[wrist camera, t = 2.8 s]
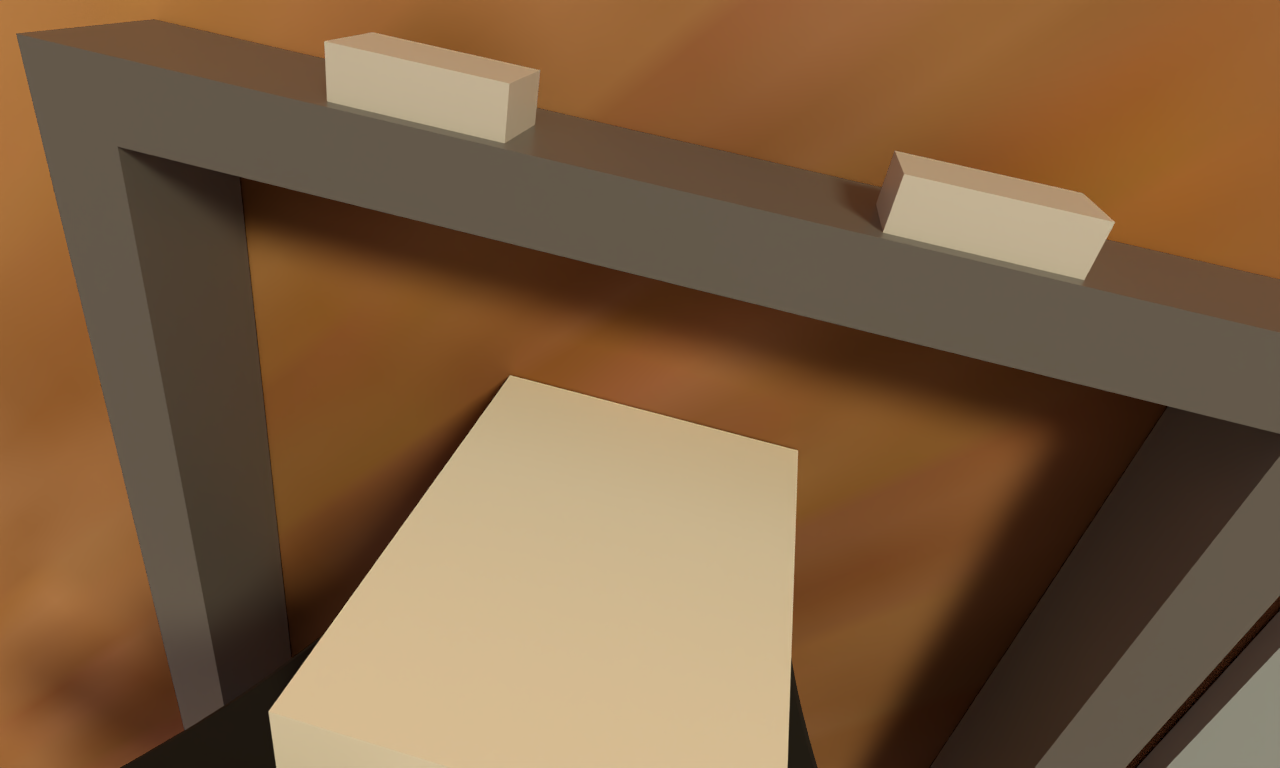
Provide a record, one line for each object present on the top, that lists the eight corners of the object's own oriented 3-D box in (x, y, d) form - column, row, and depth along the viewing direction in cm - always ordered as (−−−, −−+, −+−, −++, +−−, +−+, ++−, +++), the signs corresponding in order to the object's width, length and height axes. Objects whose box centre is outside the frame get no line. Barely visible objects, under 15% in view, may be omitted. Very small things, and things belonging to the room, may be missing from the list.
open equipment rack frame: (1381, 245, 8) (1526, 321, 7) (891, 908, 16) (899, 1018, 15) (145, -33, 10) (0, -29, 8) (258, 713, 18) (199, 794, 16)
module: (797, 450, 11) (783, 896, 6) (697, 730, 15) (633, 1161, 10) (510, 375, 12) (253, 732, 6) (481, 666, 15) (304, 1047, 10)
